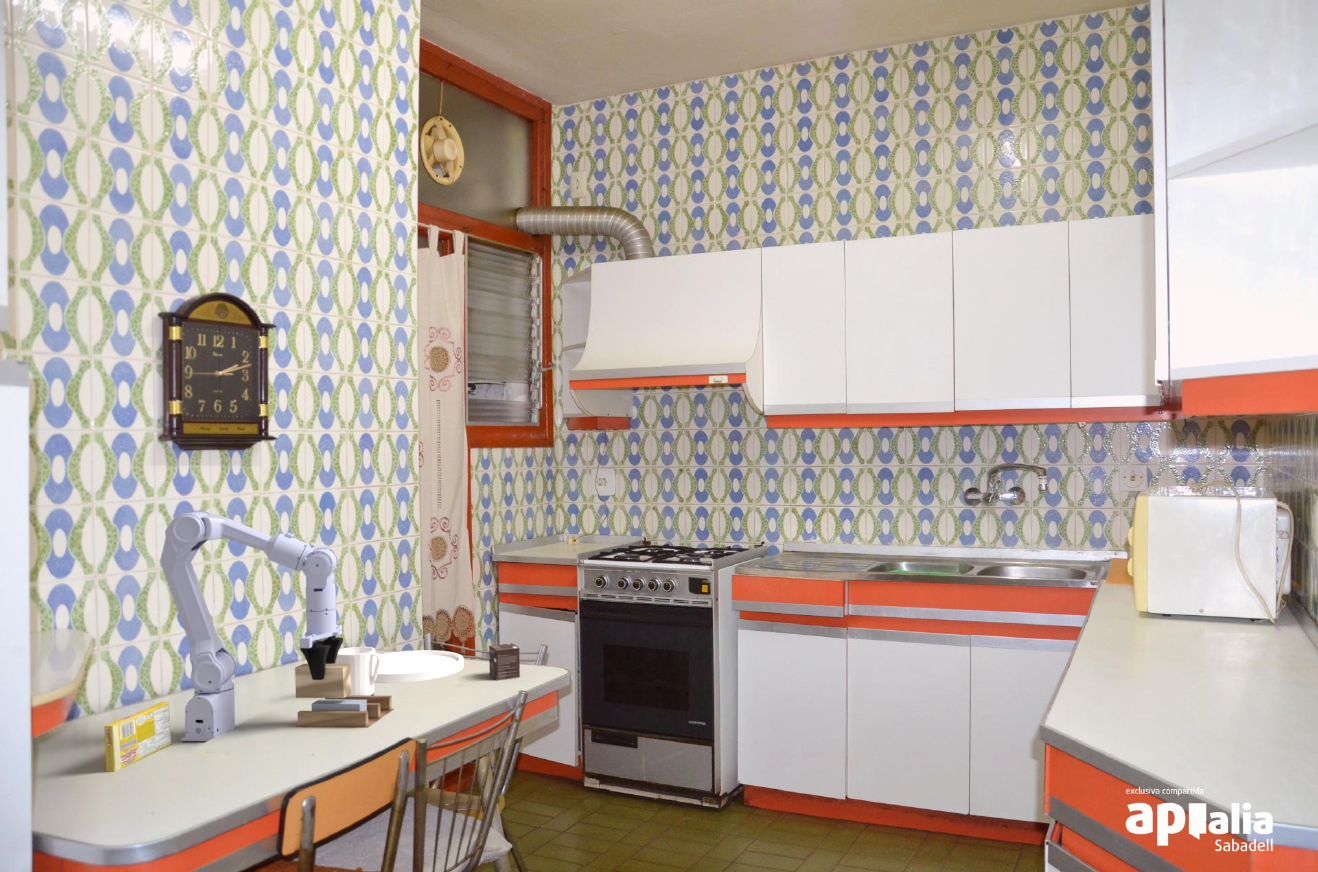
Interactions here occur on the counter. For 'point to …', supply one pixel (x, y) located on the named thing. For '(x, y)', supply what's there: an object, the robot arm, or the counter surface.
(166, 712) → the candy box
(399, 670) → the plate
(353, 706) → the blue slat
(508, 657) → the box
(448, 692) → the counter surface
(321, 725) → the rack
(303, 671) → the wooden block
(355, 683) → the mug
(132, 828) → the counter surface
